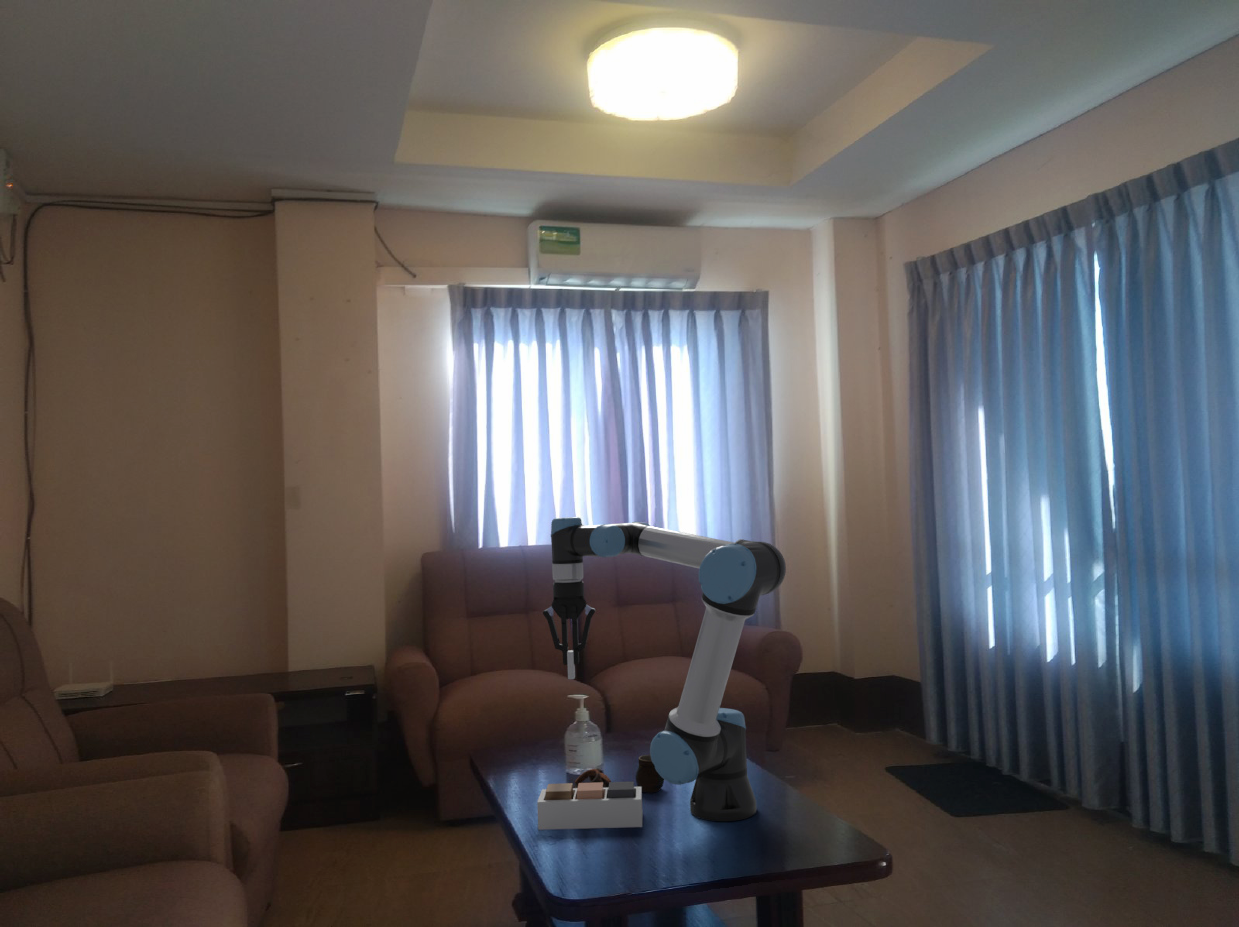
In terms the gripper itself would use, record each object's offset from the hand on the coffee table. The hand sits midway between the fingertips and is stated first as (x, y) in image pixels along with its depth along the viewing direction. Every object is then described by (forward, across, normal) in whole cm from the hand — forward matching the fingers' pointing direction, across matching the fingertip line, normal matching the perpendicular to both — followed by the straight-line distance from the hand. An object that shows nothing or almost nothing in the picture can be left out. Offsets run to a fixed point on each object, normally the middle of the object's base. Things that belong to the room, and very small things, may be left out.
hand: (571, 678), depth 221 cm
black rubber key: (+27, -12, +14) cm, 32 cm away
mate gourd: (+30, -18, -7) cm, 35 cm away
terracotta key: (+27, -5, +14) cm, 31 cm away
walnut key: (+27, +2, +14) cm, 30 cm away
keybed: (+29, -5, +14) cm, 33 cm away
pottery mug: (+30, -5, -1) cm, 30 cm away
